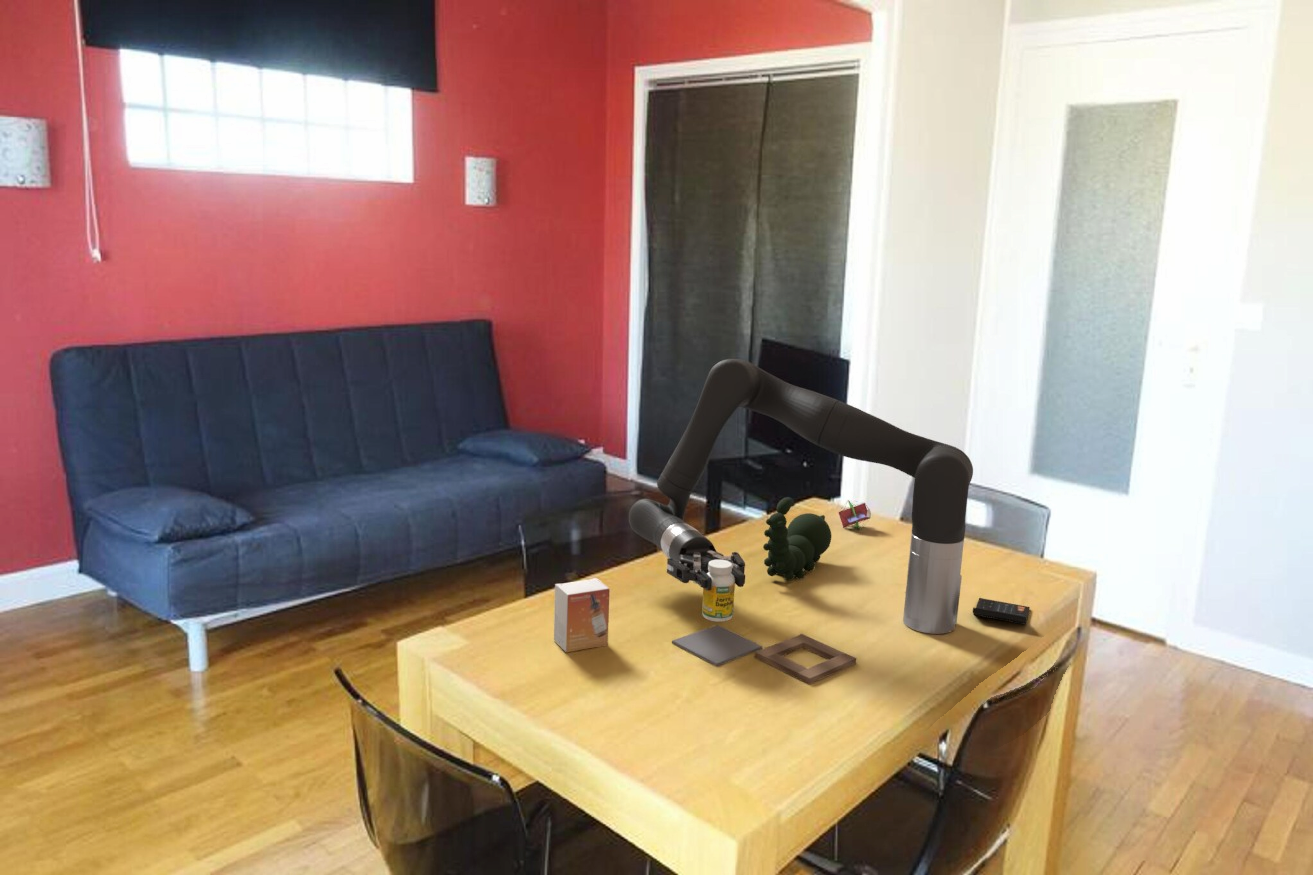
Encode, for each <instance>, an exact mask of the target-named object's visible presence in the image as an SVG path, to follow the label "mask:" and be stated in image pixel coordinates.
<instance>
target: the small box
mask: <svg viewBox="0 0 1313 875" xmlns="http://www.w3.org/2000/svg"><path fill="white" fill-rule="evenodd" d="M610 591H611V590H610V588H609V587H608V586H607V585H606V584H605V583H603V582H602V581H601V580H600V579H598V578H597V577H593V578H590V579H584V580H577V581H571V582H564V583H555V584H554V612H553V613H554V616H553V618H554V620H553V621H554V623H553V627H554V628H553V640H554V642H555V643H556V644H557V645H558V646H559V647H560V648H561V649H562V650H563V651H564V652H565V653H570V652H576V651H581V650H587V649H593V648H600V647H607V646H608V645H609V622H610V621H609V619H610V593H611V592H610Z"/></svg>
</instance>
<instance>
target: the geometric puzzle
mask: <svg viewBox="0 0 1313 875" xmlns="http://www.w3.org/2000/svg"><path fill="white" fill-rule="evenodd" d="M855 502H858V501H856V500H855ZM847 503H848V505H849V507H844V508H843V507H841V509H842V508H843V509H842V510H841V509H840V510H839V511H838V512H837V513H838V516H839V518H840V521H841V525H842V529H845V528H849V527H853V526H854V527H855V528H856V529H857V530H858V531H862V529H861V528H860V525H859V524H860V523H863V524H862V527H864V526H865V524H866V523H867V522H868V521H867V520H869V519H871V517H872V512H871V509H870V508H869V507H868V505H867V503H866V502H860V503H857V504H856V505H855V504H854V503H853V502H851V500H849V499H847V502H846V503H844V505H843V506H846V505H847ZM865 521H866V522H865ZM864 523H865V524H864ZM863 525H864V526H863Z"/></svg>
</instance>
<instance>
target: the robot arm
mask: <svg viewBox="0 0 1313 875" xmlns="http://www.w3.org/2000/svg"><path fill="white" fill-rule="evenodd" d="M738 408H742V409H746V410H750V411H753V412H756V413H758V414H762V415H765V416H768V417H770V418H772V419H774V420H775V421H778V422H779V423H782V424H783V425H785V426H786V428H788V429H789V430H791V431H793V432H794V433H796V434H797V435H799V436H800V437H802V439H803V438H804V439H805V440H807V441H808V442H810V443H812V444H814V445H816V446H818V447H820V448H823V449H824V450H827V451H829V452H832V453H835V454H836V455H839V456H841V457H845V458H849V459H852V460H857V461H863V462H868V463H874V464H877V465H878V464H879V465H884V466H887V467H890V468H893V469H895V470H898V471H900V472H902V473H903V474H904V473H905V474H906V475H908V476H910V477H912V478H914V482H913V490H912V491H913V494H912V507H911V508H912V509H911V526H912V527H911V534H910V535H911V536H910V547H909V556H908V566H907V568H908V569H907V575H906V576H907V577H906V585H905V586H906V587H905V598H904V606H903V607H904V608H903V616H902V622H903V624H904V625H906V626H907V627H908V628H910V629H912V630H915V631H917V632H921V633H926V634H931V635H932V634H933V635H941V634H942V635H943V634H948V633H950V632H952V631H954V629H955V627H956V626H955V624H958V623H957V622H958V614H959V613H958V612H959V605H960V604H959V602H960V595H961V585H962V575H961V571H962V562H963V552H964V544H965V535H966V529H967V528H966V514H967V507H968V506H967V505H968V498H969V496H968V495H969V488H970V484H971V482H972V479H973V475H974V468H973V463H972V461H971V459H970V458H969V456H968V455H967V454H966V452H964V451H962V449H960V448H958V447H956V446H953V445H950V444H947V443H943V442H940V441H937V440H934V439H931V438H927V437H925V436H920V435H918V434H914V433H912V432H909V431H907V430H904V429H902V428H899V427H897V426H895V425H894V424H892V423H889V422H887V421H886V420H884V419H882V418H880V417H877V416H875V415H872V414H871V413H868V412H866V411H863V410H862V409H860V408H858V407H855V406H853V405H850V404H848V403H846V402H844V401H841V400H838V399H836V398H833V397H830V396H828V395H825V394H822V393H819V392H816V391H814V390H810V389H807V388H805V387H804V388H803V387H801V386H800V387H799V386H796V385H793V384H790V383H788V382H787V381H784V380H782V379H781V378H778V377H777V376H774V375H773V374H771V373H769V372H767V371H766V370H764V369H762V368H760V367H759V366H756V365H755V364H753V363H751V362H750V361H748V360H745V359H742V358H741V359H740V358H728V359H727V358H726V359H723V360H721V361H719V362H717V363H716V364H715V365H713V366H712V367H711V369H710V371H709V372H708V375H707V377H706V380H705V382H704V386H703V388H702V391H701V394H700V397H699V399H698V403H697V405H696V407H695V409H694V412H693V414H692V416H691V419H690V420H689V422H688V424H687V427H686V429H685V431H684V432H683V435H682V436H681V438H680V440H679V442H678V444H677V446H676V447H675V449H674V451H673V453H672V454H671V456H670V458H669V459H668V462H667V463H666V464H665V467H664V468H663V470H662V472H661V473H660V475H659V478H658V479H657V481H656V482H657V483H656V486H657V489H658V490H659V491H660V492H661V493H662V494H663V495H664V496H666V498H668V499H669V503H668V504H667V505H666V504H663V503H661V502H658V501H655V500H653V499H650V498H642V499H639V500H638V501H636V502H634V504H633V505H632V506H631V507H630V510H629V512H628V523H629V525H630V528H631V529H632V531H633V532H634V533H636V534H637V535H639V536H640V537H641V538H644V540H646V541H648V542H651V544H654V545H655V546H656V547H658V549H659V550H660V551H661V552H662V553H663V554H664V555H665V557H666V559H667V560H666V561H667V565H666V574H668V575H670V576H671V577H672V578H675V579H676V580H677V581H680V582H681V583H683V584H690V582H692V583H694V584H697V585H698V586H699V587H700V588H702V589H703V588H704V589H705V590H711V588H712V579H711V577H710V576H708V575H707V573H708V572H709V571H708V564H709V562H710V561H712V560H726V561H729V562H731V563H732V571H731V574H732V575H733V576H734V578H735V586H737V587H738V588H739V587H740V588H742V587H744V586H745V583H746V573H745V568H746V562H745V560H743V558H742V556H741V555H740V553H739V552H738V551H733V552H731V555H729V556H725V555H724V554H723V553H722V552H718V551H717V550H716V547H715V545H714V543H713V542H712V541H711V540H710V539H708V538H707V537H706V536H705V535H704V534H702V533H701V532H700V531H699V530H697V529H696V528H695V527H693V526H691V525H689V524H688V523H687V522H685V519H684V518H685V514H686V511H687V507H688V504H689V500H690V497H691V495H692V493H693V491H694V489H695V487H696V486H697V484H698V483H699V481H700V479H701V477H702V476H703V474H704V472H705V470H706V467H707V466H708V463H709V461H710V458H711V456H712V452H713V449H714V447H715V444H716V442H717V439H718V437H719V435H720V433H721V432H722V430H723V428H724V426H725V425H726V423H727V422H728V420H730V418H731V417H732V415H733V414H734V413H735V411H737V409H738Z"/></svg>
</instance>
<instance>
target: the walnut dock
mask: <svg viewBox="0 0 1313 875" xmlns="http://www.w3.org/2000/svg"><path fill="white" fill-rule="evenodd" d="M801 649H804V650H807V651H809V652H811V653H812V654H813V653H814V654H815V655H818V656H820V657H823V658H824V659H827V660H824V661H822V662H820V663H817V664H815V665H812V666H810V667H805V666H803V665H802V664H800V663H798V662H796V661H793V660H791V659H789V658H787V657H785V656H786V655H789V654H790V653H793V652H796V651H799V650H801ZM754 659H757V660H759V661H761V662H763V663H765V664H768V665H769V666H772V667H773V668H775V669H777V670H779V671H781V672H783V673H785V674H788V675H789V676H791V677H794V678H795V679H798V680H800V681H802V682H803V683H806V684H808V685H811V684H813V683H815V682H817V681H820V680H822V679H824V678H827V677H829V676H831V675H834V674H836V673H838V672H840V671H843V670H846V669H847V668H850V667H852V666H854V665H856V664H857V657H855V656H852V655H850V654H848V653H846V652H844V651H841V650H839V649H837V648H834V647H833V646H830V645H828V644H825V643H823V642H821V641H819V640H816V639H815V638H812V637H810V636H808V635H807V634H806V635H805V634H803V633H800V634H798V635H795V636H793V637H790V638H787V639H784V640H783V641H782V640H781V641H780V642H778V643H775V644H772V645H769V646H767V647H764V648H762V649H760V650H758V651H755V652H754Z"/></svg>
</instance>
